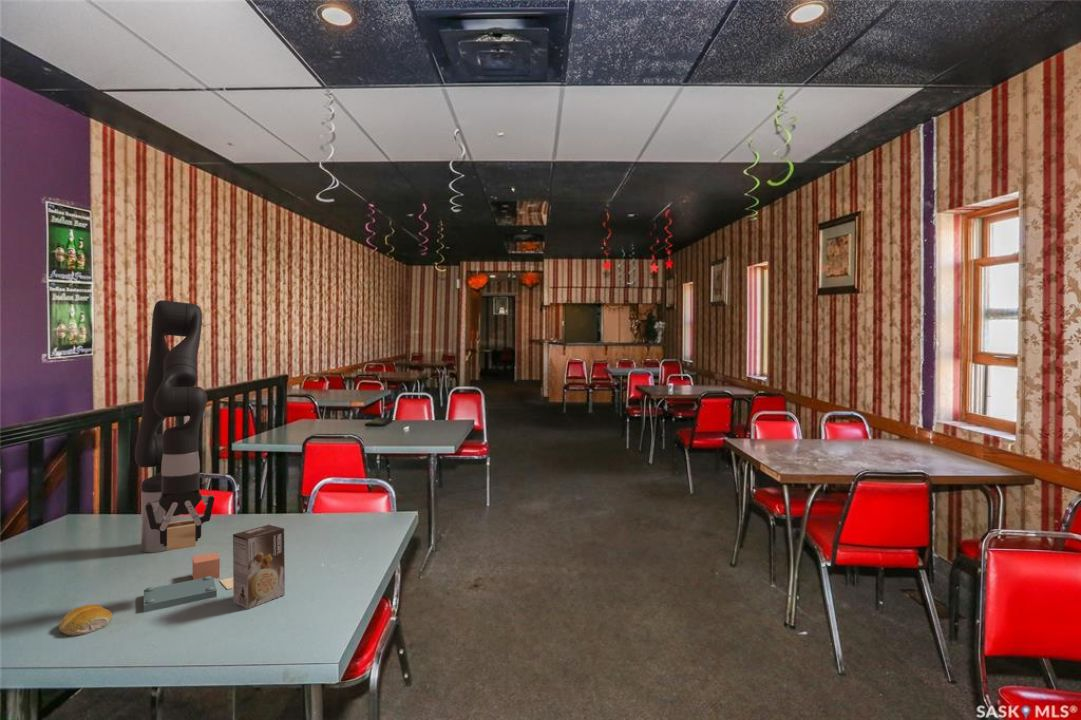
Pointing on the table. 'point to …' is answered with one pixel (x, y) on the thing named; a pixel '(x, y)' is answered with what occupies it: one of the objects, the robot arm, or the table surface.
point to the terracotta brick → (206, 566)
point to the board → (179, 593)
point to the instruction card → (227, 583)
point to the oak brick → (180, 534)
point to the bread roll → (85, 620)
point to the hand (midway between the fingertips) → (180, 542)
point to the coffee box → (258, 566)
